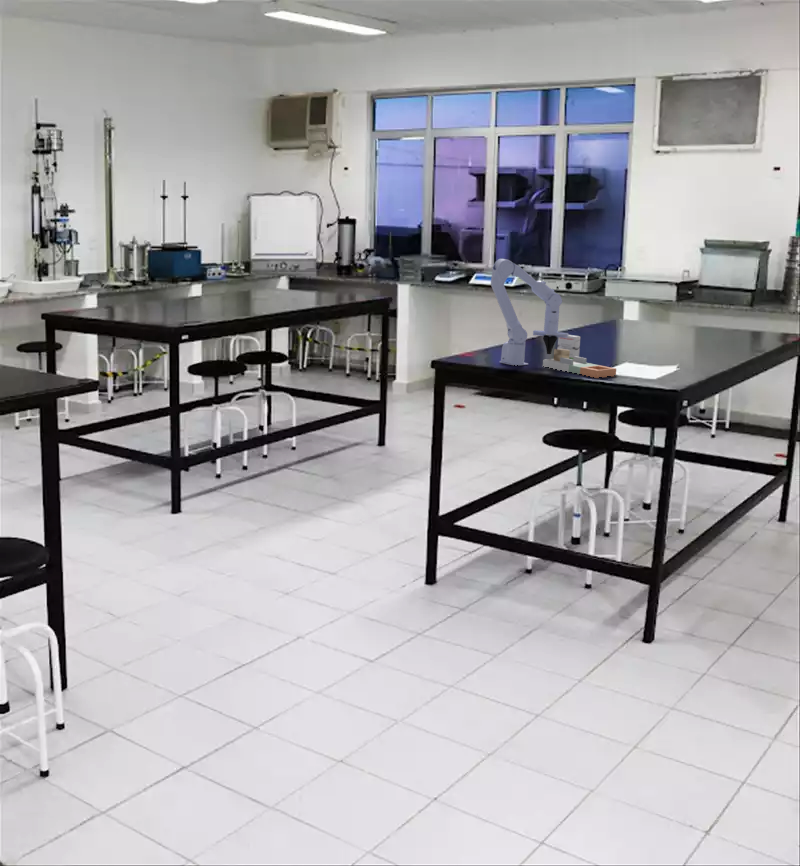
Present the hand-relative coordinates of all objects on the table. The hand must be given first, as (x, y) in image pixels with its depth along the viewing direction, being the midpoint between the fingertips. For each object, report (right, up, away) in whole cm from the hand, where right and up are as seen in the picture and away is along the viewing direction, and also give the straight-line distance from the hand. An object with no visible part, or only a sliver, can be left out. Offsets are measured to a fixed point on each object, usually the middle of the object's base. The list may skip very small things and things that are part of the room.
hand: (549, 353), depth 427 cm
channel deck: (+10, -8, -11) cm, 17 cm away
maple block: (+4, -3, -5) cm, 7 cm away
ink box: (+9, -3, +11) cm, 15 cm away
